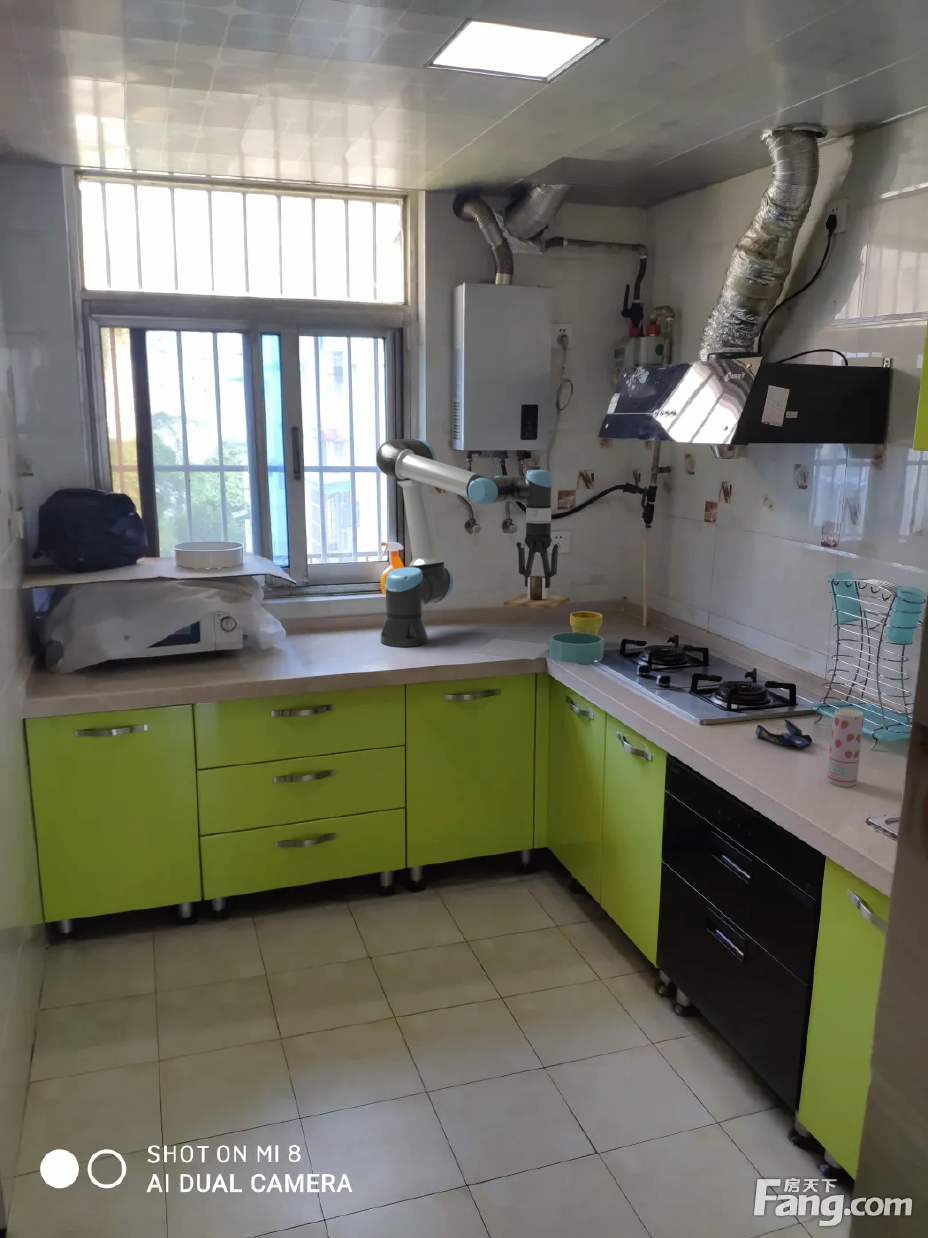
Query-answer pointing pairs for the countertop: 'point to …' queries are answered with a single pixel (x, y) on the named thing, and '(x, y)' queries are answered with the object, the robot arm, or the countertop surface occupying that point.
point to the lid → (536, 597)
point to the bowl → (576, 647)
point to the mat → (513, 649)
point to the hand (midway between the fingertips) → (537, 597)
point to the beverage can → (845, 747)
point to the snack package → (786, 735)
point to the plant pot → (586, 622)
